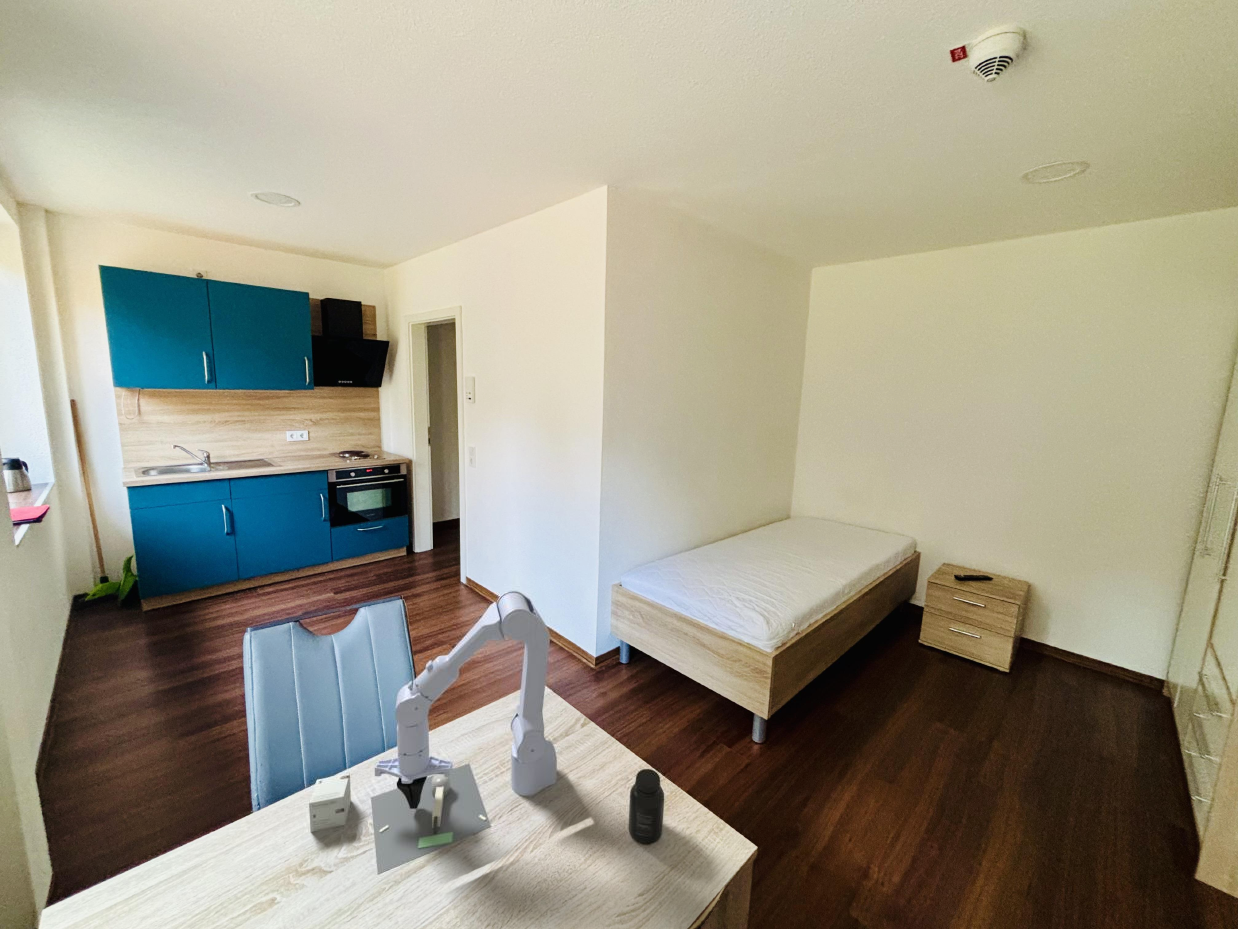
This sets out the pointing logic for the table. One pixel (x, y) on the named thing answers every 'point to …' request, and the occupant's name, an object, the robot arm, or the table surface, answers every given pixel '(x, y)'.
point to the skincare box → (330, 802)
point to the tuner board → (426, 820)
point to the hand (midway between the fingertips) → (415, 804)
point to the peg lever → (439, 797)
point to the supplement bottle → (646, 808)
